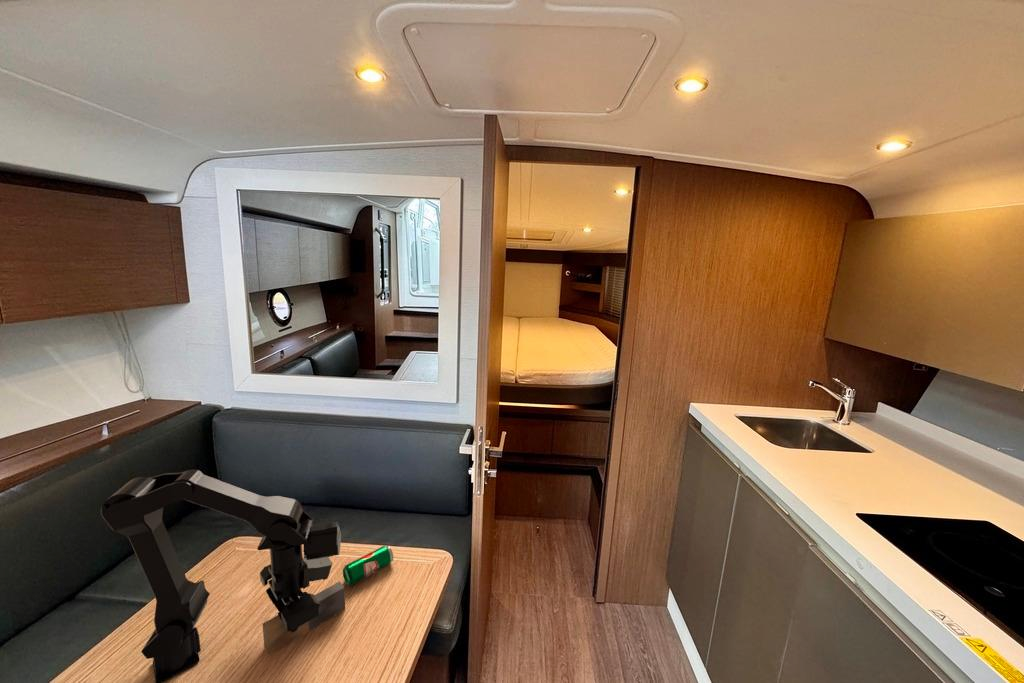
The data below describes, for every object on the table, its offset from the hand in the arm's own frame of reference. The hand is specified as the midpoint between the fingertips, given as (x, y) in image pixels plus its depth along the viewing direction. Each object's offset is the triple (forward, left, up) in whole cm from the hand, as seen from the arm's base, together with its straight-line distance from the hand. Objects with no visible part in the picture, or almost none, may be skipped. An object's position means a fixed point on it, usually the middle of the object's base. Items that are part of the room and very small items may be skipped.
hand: (291, 624), depth 83 cm
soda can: (+14, +5, 0) cm, 15 cm away
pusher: (+3, 0, -3) cm, 4 cm away
